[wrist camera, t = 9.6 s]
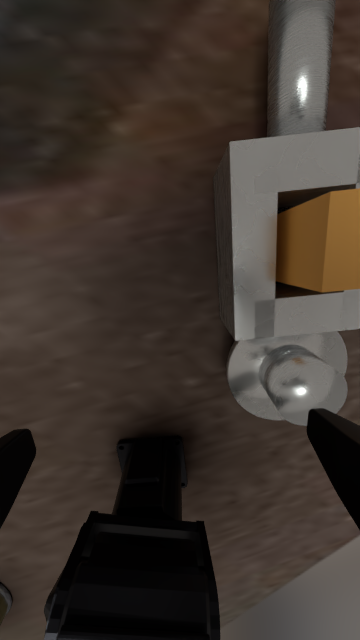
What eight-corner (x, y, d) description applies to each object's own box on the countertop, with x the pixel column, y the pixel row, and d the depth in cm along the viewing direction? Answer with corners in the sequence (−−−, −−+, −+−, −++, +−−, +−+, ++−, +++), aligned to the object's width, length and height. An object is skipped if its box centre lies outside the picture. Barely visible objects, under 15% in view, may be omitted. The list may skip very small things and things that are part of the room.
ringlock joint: (318, 393, 20) (373, 447, 15) (222, 402, 21) (240, 458, 15) (352, 30, 13) (489, -146, 7) (205, 48, 13) (226, -111, 8)
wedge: (287, 273, 17) (376, 287, 10) (257, 276, 17) (321, 292, 10) (290, 219, 16) (392, 185, 8) (257, 222, 16) (330, 191, 8)
